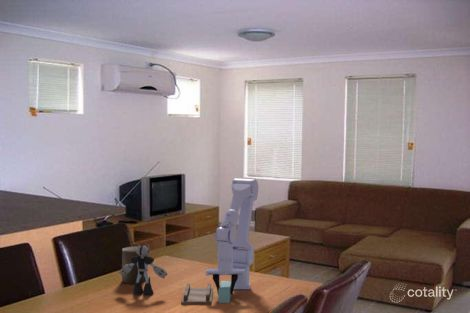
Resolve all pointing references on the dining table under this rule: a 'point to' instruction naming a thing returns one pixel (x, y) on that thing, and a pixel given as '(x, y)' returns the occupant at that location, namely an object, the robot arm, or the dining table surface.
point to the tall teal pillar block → (224, 292)
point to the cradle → (197, 295)
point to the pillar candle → (126, 259)
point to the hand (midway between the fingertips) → (225, 293)
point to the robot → (143, 270)
